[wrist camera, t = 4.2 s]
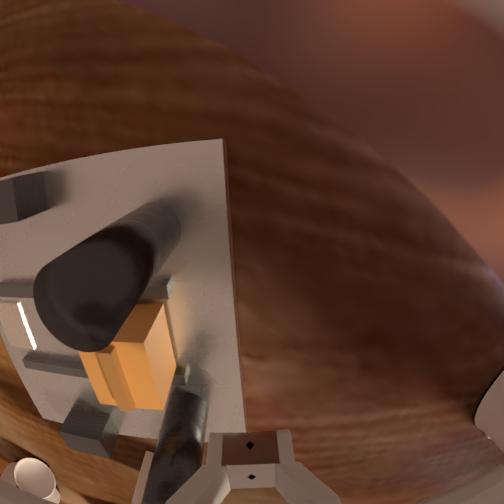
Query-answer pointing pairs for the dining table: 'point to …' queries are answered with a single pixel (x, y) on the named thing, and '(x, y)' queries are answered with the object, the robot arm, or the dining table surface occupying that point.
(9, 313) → the grey control board
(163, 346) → the block
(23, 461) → the spread jar
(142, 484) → the milk
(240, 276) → the dining table surface
